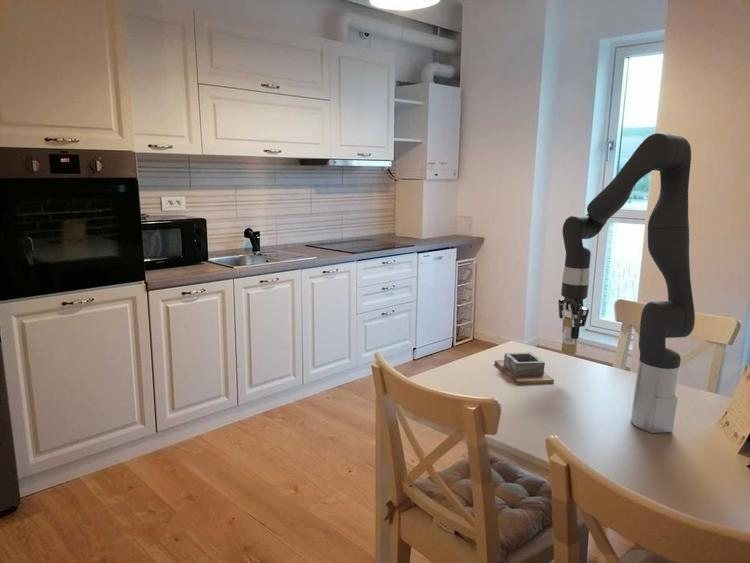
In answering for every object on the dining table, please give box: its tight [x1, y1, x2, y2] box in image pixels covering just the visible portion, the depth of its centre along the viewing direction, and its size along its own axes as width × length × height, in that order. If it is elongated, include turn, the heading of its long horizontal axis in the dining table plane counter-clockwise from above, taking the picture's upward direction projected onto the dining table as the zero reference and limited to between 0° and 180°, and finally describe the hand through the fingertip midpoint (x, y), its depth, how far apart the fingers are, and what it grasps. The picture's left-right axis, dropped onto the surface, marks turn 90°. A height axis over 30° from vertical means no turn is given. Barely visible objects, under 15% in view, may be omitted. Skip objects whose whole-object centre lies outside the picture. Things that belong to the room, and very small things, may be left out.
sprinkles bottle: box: [560, 310, 579, 355], centre depth 167 cm, size 5×5×13 cm
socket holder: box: [494, 352, 555, 386], centre depth 175 cm, size 18×12×5 cm, turn 10°
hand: (570, 335), depth 167 cm, fingers closed on sprinkles bottle, 4 cm apart
